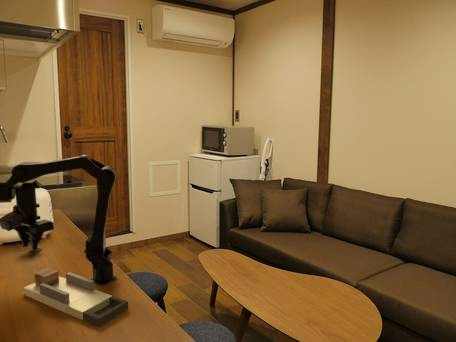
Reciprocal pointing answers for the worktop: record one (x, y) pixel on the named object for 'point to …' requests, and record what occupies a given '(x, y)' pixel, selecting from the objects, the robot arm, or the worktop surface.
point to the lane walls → (63, 295)
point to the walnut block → (47, 277)
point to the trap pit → (106, 312)
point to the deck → (71, 298)
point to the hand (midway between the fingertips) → (29, 247)
